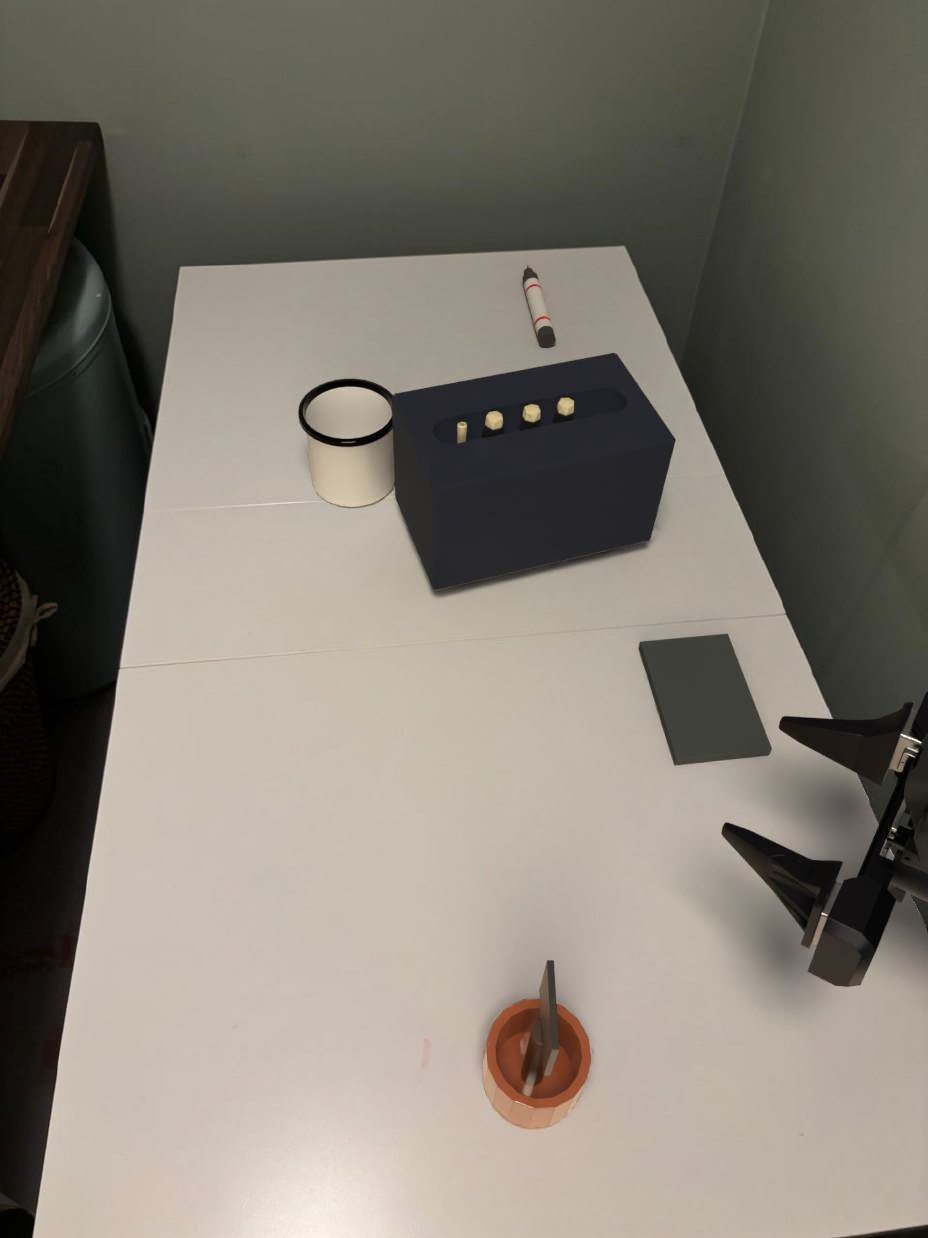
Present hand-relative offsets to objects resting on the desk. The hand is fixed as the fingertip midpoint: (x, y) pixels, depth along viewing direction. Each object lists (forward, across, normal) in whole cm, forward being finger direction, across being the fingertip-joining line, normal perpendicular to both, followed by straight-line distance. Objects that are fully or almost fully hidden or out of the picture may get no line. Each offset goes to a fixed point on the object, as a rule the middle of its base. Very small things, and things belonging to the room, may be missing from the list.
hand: (752, 773), depth 62 cm
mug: (+48, -20, +8) cm, 53 cm away
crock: (+6, +19, +14) cm, 25 cm away
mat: (+9, -15, +14) cm, 22 cm away
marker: (+49, -56, +8) cm, 75 cm away
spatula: (+6, +19, +14) cm, 24 cm away
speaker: (+32, -23, +11) cm, 41 cm away
